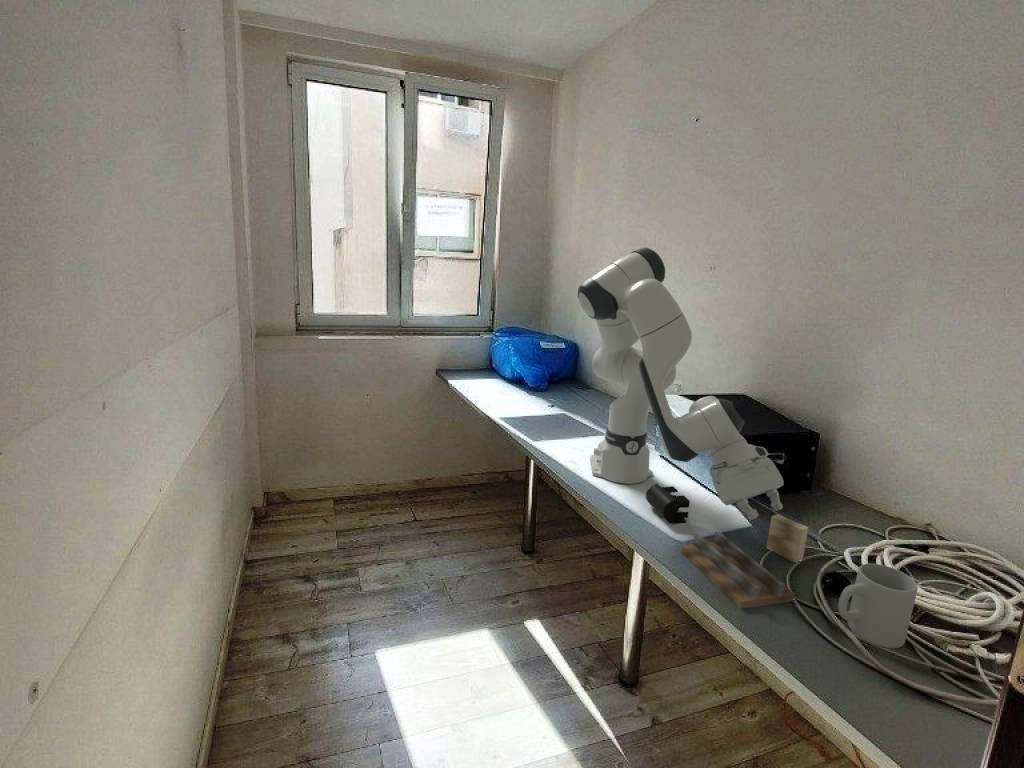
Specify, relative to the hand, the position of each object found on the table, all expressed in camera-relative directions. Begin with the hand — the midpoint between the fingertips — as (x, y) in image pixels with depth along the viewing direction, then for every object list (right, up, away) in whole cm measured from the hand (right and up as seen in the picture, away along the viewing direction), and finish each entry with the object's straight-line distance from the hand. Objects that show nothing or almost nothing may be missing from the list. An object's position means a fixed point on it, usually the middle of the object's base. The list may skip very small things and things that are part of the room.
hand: (767, 514), depth 116 cm
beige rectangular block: (+3, -9, -1) cm, 9 cm away
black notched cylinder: (-19, -4, +15) cm, 24 cm away
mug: (+5, -15, -26) cm, 30 cm away
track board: (-12, -10, -10) cm, 18 cm away
